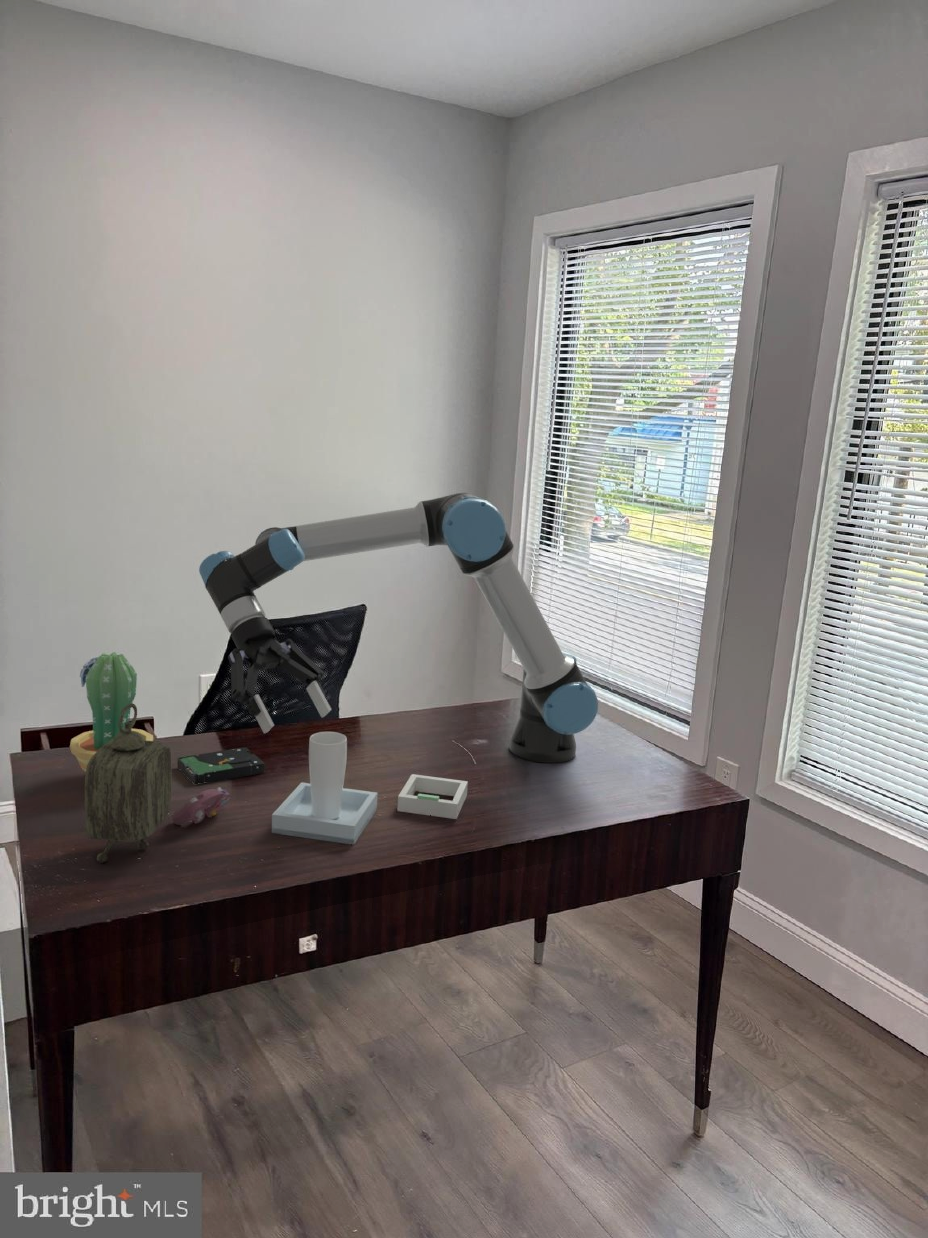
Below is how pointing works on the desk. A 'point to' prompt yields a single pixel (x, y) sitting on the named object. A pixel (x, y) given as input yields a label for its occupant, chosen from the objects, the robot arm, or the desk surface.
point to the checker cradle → (429, 802)
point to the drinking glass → (327, 773)
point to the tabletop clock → (127, 788)
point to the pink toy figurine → (202, 806)
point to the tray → (344, 829)
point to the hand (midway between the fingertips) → (298, 721)
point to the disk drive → (220, 765)
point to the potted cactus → (106, 703)
